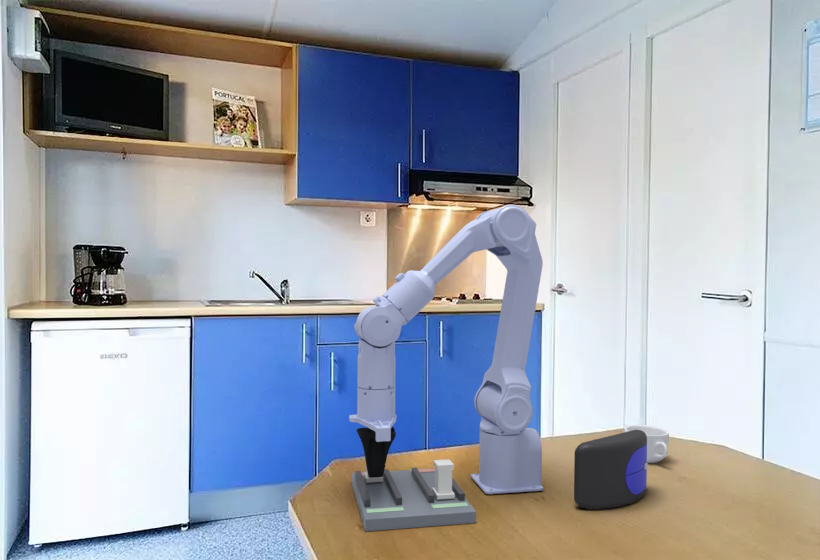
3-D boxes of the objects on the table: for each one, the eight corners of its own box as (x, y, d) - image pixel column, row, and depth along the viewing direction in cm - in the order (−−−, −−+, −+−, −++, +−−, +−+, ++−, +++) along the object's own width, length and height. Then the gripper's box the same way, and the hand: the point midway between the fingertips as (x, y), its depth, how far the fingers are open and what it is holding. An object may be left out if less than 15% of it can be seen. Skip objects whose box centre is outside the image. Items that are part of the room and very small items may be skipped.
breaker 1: (380, 475, 91) (380, 445, 91) (383, 481, 88) (383, 451, 88) (363, 476, 91) (363, 446, 90) (366, 482, 88) (366, 451, 88)
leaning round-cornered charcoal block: (597, 518, 80) (598, 450, 80) (570, 507, 83) (571, 442, 83) (663, 494, 89) (664, 433, 89) (636, 485, 93) (637, 426, 93)
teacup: (615, 453, 109) (615, 425, 109) (651, 451, 111) (651, 423, 111) (646, 471, 100) (647, 440, 100) (686, 469, 101) (686, 438, 101)
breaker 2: (449, 490, 85) (449, 458, 85) (454, 498, 82) (455, 465, 82) (432, 491, 84) (432, 459, 84) (437, 499, 81) (437, 466, 81)
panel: (442, 477, 95) (442, 462, 95) (476, 522, 78) (476, 504, 78) (351, 482, 92) (351, 467, 92) (365, 531, 75) (365, 512, 75)
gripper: (345, 378, 93) (344, 462, 93) (355, 396, 79) (354, 496, 79) (388, 377, 95) (387, 460, 95) (405, 395, 80) (404, 492, 80)
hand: (375, 476), depth 87 cm, fingers closed
